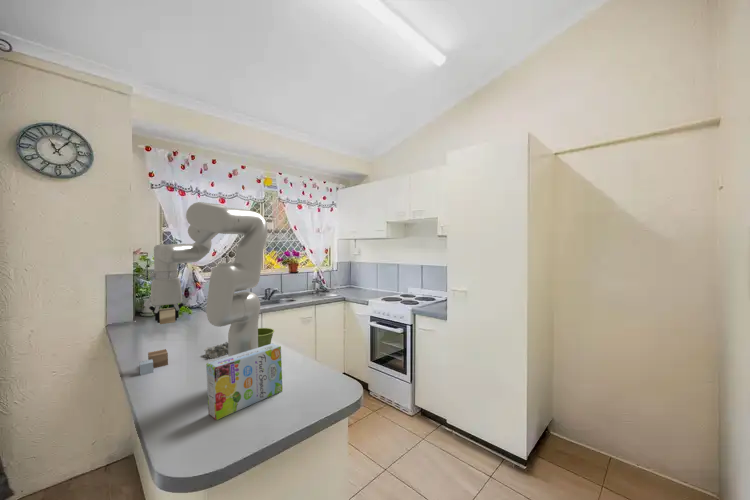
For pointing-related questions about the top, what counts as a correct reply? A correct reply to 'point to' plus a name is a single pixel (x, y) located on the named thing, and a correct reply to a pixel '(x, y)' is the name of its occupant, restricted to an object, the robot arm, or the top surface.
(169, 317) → the maple cube
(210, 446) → the top surface
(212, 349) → the egg carton
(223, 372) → the snack box
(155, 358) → the walnut block
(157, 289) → the robot arm
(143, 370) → the slate cube
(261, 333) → the plant pot
